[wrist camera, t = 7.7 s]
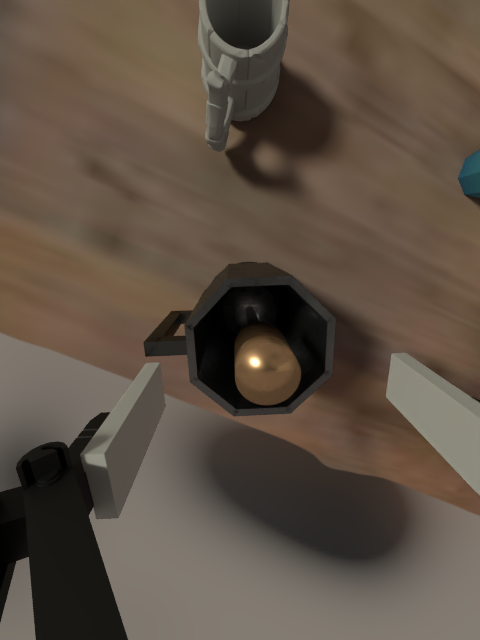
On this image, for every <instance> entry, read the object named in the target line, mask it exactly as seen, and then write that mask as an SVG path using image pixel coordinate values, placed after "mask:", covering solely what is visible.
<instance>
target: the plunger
mask: <svg viewBox="0 0 480 640" xmlns="http://www.w3.org/2000/svg"><path fill="white" fill-rule="evenodd" d="M223 313H224V318H225V321H226V323H227V325H228V326H229V327H230V328H231V329H232V330H233V331H234V332H236V333H238V335H237V337H236V339H235V343H234V356H235V382H236V385H237V388H238V390H239V391H240V393H241V394H242V395H243V396H244V397H245V398H246V399H247V400H249V401H251V402H253V403H256V404H259V405H274V404H278V403H281V402H283V401H285V400H286V399H288V398H289V397H290V396H291V395H292V394H293V393H294V392H295V391H296V389H297V387H298V385H299V383H300V379H301V369H300V365H299V363H298V361H297V359H296V357H295V356H294V354H293V352H292V350H291V348H290V347H289V345H288V343H287V341H286V340H285V338H284V336H283V334H282V333H281V331H280V330H279V329H278V328H277V327H276V326H274V325H272V324H273V322H274V320H275V318H276V313H277V306H276V302H275V299H274V297H273V296H272V294H271V293H270V292H269V291H268V290H267V289H266V288H264V287H263V286H243V287H236V288H234V289H233V290H232V291H231V292H230V293H229V294H228V296H227V297H226V299H225V302H224V308H223Z"/></svg>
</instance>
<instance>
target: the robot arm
mask: <svg viewBox="0 0 480 640" xmlns="http://www.w3.org/2000/svg"><path fill="white" fill-rule="evenodd" d="M386 398H387V399H388V400H389V401H390V402H391V403H392V404H393V405H394V406H395V407H396V408H397V409H398V410H399V411H400V412H401V413H402V414H403V415H404V417H405V418H406V419H407V420H408V421H409V422H410V423H411V424H412V425H413V426H414V427H415V428H416V429H417V430H418V431H419V432H420V433H421V434H422V436H423V437H424V438H425V439H426V440H427V441H428V442H429V443H430V444H431V445H432V446H433V447H434V448H435V449H436V450H437V451H438V452H439V453H440V454H441V456H442V457H443V458H444V459H445V460H446V461H447V462H448V463H449V464H450V465H451V466H452V467H453V468H454V469H455V470H456V471H457V472H458V473H459V475H460V476H461V477H462V478H463V479H464V480H465V481H466V482H467V483H468V484H469V485H470V486H471V487H472V488H473V489H474V490H475V491H476V492H477V494H478V495H479V496H480V400H478V399H476V398H473V397H470V396H469V395H467V394H466V393H464V392H463V391H461V390H460V389H458V388H457V387H455V386H454V385H452V384H451V383H449V382H448V381H446V380H445V379H443V378H442V377H440V376H439V375H437V374H436V373H435V372H433V371H432V370H430V369H429V368H427V367H426V366H424V365H423V364H421V363H420V362H418V361H417V360H415V359H414V358H412V357H411V356H409V355H408V354H406V353H392V355H391V363H390V370H389V377H388V384H387V392H386ZM164 408H165V398H164V390H163V382H162V375H161V367H160V363H146V364H145V365H144V367H143V368H142V369H141V371H140V372H139V374H138V375H137V376H136V378H135V379H134V381H133V382H132V384H131V385H130V386H129V388H128V389H127V390H126V392H125V393H124V395H123V396H122V397H121V399H120V400H119V401H118V403H117V404H116V406H115V407H114V409H113V410H112V411H111V412H107V413H100V414H99V415H98V416H96V417H94V418H93V419H92V420H90V422H89V423H88V424H87V425H86V427H85V428H84V430H83V431H82V432H81V433H80V434H79V436H78V438H76V439H75V440H74V442H73V443H72V444H71V445H70V447H69V448H68V447H67V445H65V443H63V442H50V443H46V444H44V445H40V446H38V447H36V448H34V449H32V450H31V451H29V452H28V453H27V454H26V455H24V456H23V457H22V458H21V459H20V461H19V462H18V463H17V466H16V470H17V473H18V476H19V479H20V482H21V485H22V486H20V487H17V488H13V489H10V490H6V491H2V492H0V621H1V618H2V614H3V610H4V606H5V602H6V599H7V594H8V591H9V587H10V583H11V579H12V575H13V572H14V568H15V564H16V561H18V560H20V559H23V558H26V557H29V563H30V575H31V587H32V599H33V611H34V623H35V635H36V640H128V639H127V635H126V632H125V629H124V626H123V623H122V619H121V616H120V613H119V610H118V607H117V604H116V601H115V597H114V594H113V591H112V588H111V585H110V582H109V579H108V576H107V573H106V570H105V566H104V563H103V560H102V557H101V554H100V550H99V547H98V544H97V541H96V538H95V535H94V532H93V529H92V525H91V522H90V519H89V514H90V512H91V510H92V508H94V511H95V515H96V519H110V518H119V515H120V513H121V511H122V508H123V506H124V504H125V501H126V499H127V496H128V494H129V491H130V489H131V487H132V485H133V482H134V480H135V477H136V475H137V472H138V470H139V468H140V465H141V463H142V460H143V458H144V456H145V454H146V451H147V449H148V446H149V444H150V442H151V439H152V437H153V434H154V432H155V430H156V427H157V425H158V423H159V420H160V418H161V415H162V413H163V411H164Z"/></svg>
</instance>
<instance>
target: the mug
mask: <svg viewBox="0 0 480 640" xmlns="http://www.w3.org/2000/svg"><path fill="white" fill-rule="evenodd" d="M199 9H200V18H199V27H198V33H199V34H198V43H199V48H200V50H201V53H202V56H203V58H202V71H201V77H202V80H203V84H204V88H205V91H206V94H207V96H208V99H207V107H206V110H207V113H206V125H207V130H206V132H205V138H206V142H207V143H208V144H209V147H210V148H211V149H213V150H215V151H218V152H221V151H222V150H224V149H225V146H226V143H227V139H228V134H229V127H230V123H231V120H234V121H243V120H244V121H248V120H250V119H251V118H253V117H254V118H255V117H257V116H258V115H260V114H261V113H262V112H263V111H264V110H265V109H266V108H267V107H268V105H269V104H270V103H271V101H272V99H273V97H274V95H275V93H276V90H277V87H278V83H279V77H280V70H281V67H280V62H281V60H282V57H283V54H284V50H285V46H286V40H287V35H288V27H287V20H288V13H289V0H199ZM236 47H238V48H236Z"/></svg>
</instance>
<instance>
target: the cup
mask: <svg viewBox="0 0 480 640" xmlns="http://www.w3.org/2000/svg"><path fill="white" fill-rule="evenodd" d="M458 179H459V182H460V184H461V187H462V190H463V192H464V194H465V195H469V196H473V197H477V198H480V150H478V151H477V152H475V153H474V154H472V155H471V156H469V157H468V158H466V159H465V162H464V164H463V167H462V169H461V172H460V175H459V177H458Z"/></svg>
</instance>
